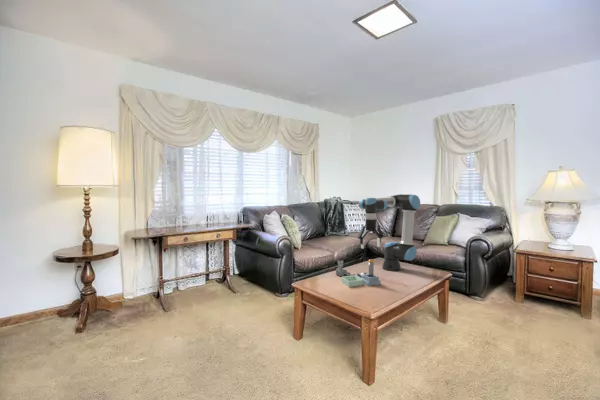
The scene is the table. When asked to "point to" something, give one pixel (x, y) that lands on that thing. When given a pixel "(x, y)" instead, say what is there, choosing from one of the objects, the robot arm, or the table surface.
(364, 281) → the block
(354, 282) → the tray
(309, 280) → the table surface
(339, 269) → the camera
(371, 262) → the orange and grey cylinder
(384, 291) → the table surface
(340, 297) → the table surface
